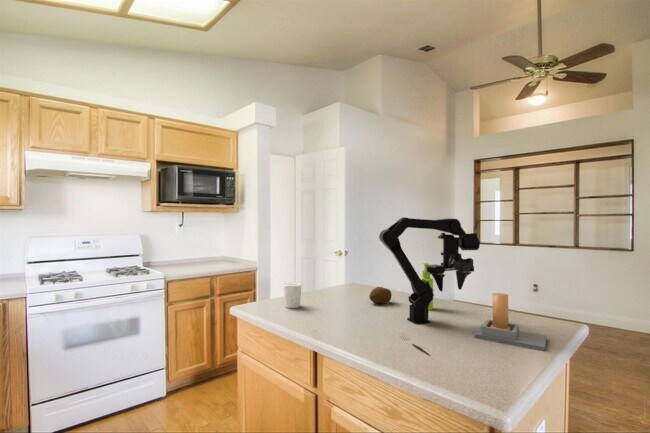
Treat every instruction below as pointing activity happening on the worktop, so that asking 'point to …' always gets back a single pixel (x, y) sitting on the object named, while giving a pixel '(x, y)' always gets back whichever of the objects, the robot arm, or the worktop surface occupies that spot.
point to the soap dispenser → (427, 277)
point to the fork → (414, 345)
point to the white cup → (292, 295)
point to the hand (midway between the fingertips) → (450, 290)
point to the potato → (380, 295)
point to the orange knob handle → (500, 311)
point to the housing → (511, 336)
